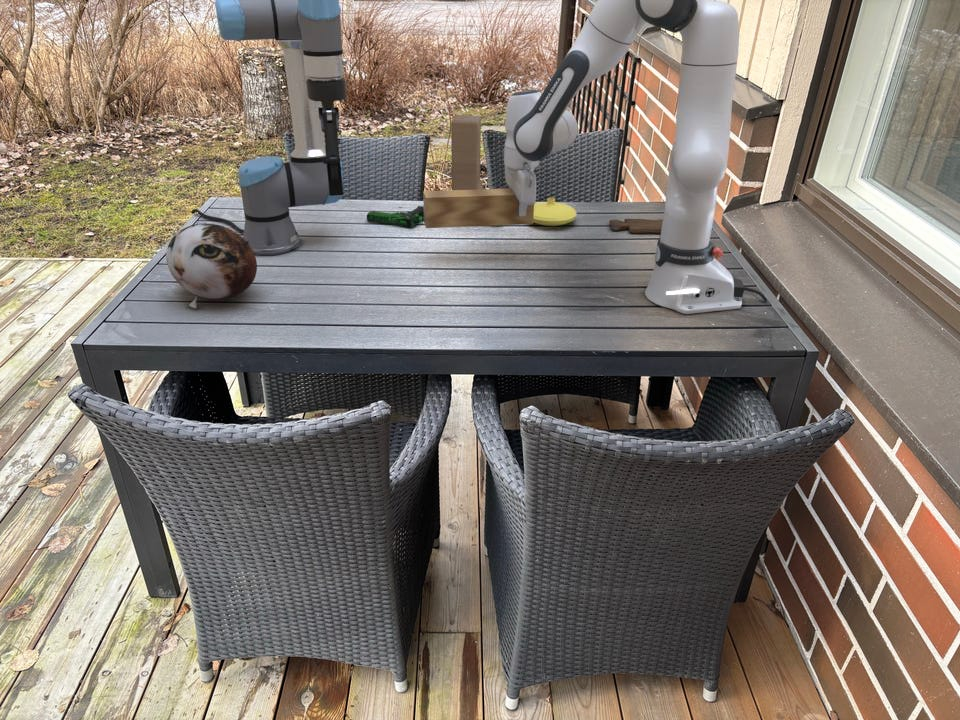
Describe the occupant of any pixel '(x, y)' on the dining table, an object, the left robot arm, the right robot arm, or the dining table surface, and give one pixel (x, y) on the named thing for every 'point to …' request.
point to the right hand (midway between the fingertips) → (518, 211)
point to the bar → (473, 208)
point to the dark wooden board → (637, 225)
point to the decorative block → (466, 152)
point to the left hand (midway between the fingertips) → (335, 185)
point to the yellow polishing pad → (553, 213)
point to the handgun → (398, 217)
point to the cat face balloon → (211, 261)
